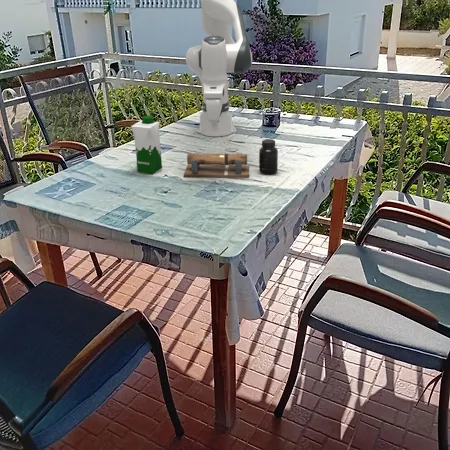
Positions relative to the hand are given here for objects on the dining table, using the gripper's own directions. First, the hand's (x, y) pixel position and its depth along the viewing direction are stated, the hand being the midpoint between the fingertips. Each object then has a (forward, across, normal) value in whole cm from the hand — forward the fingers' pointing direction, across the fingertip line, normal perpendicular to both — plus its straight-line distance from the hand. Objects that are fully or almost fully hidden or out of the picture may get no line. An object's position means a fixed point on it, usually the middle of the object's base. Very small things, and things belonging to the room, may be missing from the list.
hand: (215, 126), depth 171 cm
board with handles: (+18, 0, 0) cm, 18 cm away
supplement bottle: (+18, -1, +19) cm, 26 cm away
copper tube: (+14, 0, 0) cm, 14 cm away
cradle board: (+18, 0, 0) cm, 18 cm away
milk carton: (+18, -2, -26) cm, 31 cm away
